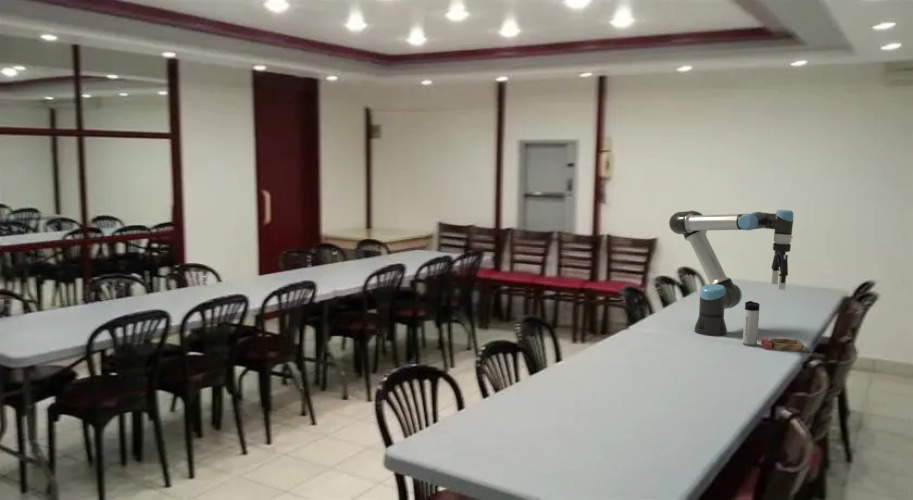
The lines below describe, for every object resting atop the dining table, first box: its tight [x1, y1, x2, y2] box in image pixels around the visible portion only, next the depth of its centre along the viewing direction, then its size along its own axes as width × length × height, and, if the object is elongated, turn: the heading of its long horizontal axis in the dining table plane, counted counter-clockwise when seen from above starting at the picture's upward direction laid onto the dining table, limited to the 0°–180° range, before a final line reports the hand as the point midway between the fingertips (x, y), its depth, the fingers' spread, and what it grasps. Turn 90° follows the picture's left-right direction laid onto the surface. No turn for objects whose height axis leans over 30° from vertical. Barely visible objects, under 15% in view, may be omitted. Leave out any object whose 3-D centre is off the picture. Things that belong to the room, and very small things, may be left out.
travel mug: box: [742, 300, 760, 347], centre depth 329 cm, size 6×7×20 cm
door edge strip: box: [760, 337, 773, 351], centre depth 327 cm, size 3×12×2 cm, turn 165°
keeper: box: [769, 337, 806, 353], centre depth 325 cm, size 13×13×3 cm
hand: (777, 286), depth 340 cm, fingers open, 13 cm apart
